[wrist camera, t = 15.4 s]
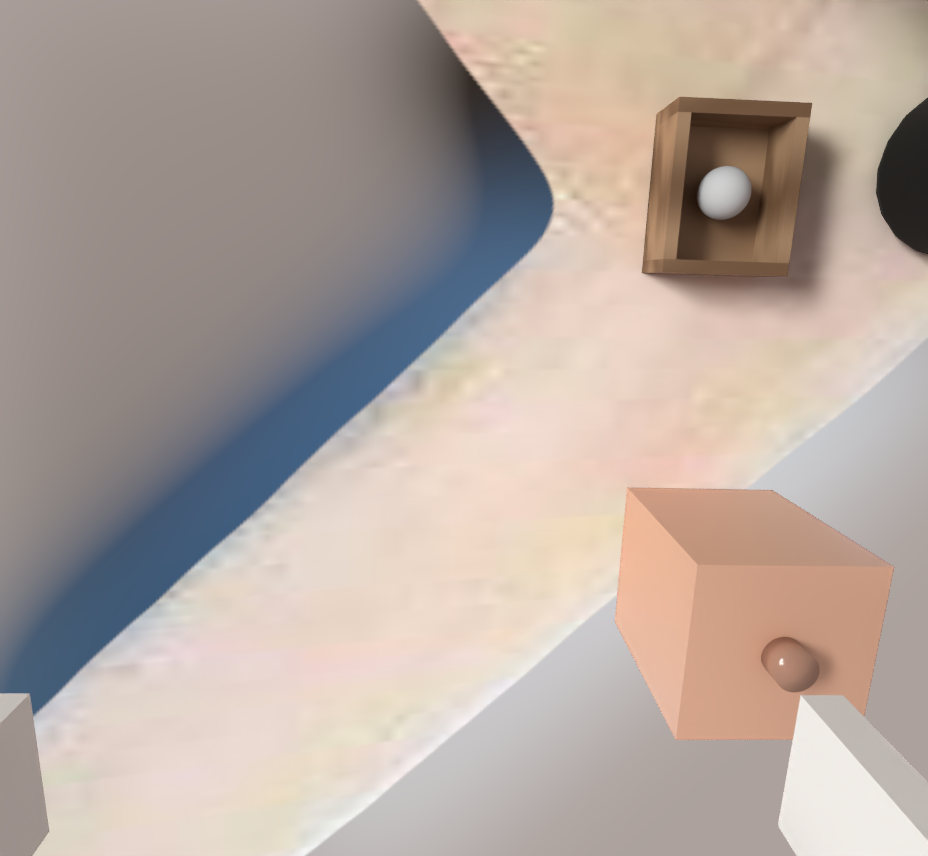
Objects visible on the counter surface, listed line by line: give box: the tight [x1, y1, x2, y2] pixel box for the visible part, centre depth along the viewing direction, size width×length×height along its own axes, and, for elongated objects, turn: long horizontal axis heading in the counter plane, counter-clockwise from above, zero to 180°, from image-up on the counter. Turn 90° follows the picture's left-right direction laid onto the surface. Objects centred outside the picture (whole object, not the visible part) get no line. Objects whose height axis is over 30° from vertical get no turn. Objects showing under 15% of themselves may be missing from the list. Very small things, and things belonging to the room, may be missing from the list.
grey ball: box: [697, 166, 751, 220], centre depth 40 cm, size 3×3×3 cm
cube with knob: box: [615, 488, 894, 740], centre depth 41 cm, size 11×11×15 cm
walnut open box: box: [642, 97, 812, 277], centre depth 40 cm, size 10×8×4 cm
